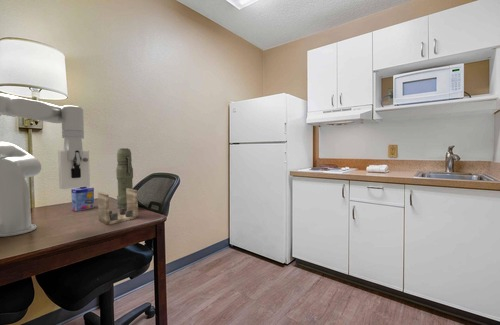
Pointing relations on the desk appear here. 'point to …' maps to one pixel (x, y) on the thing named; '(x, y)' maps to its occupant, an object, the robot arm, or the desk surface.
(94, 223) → the desk surface
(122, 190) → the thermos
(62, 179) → the white rectangular block
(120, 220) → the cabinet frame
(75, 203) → the ink cartridge box
